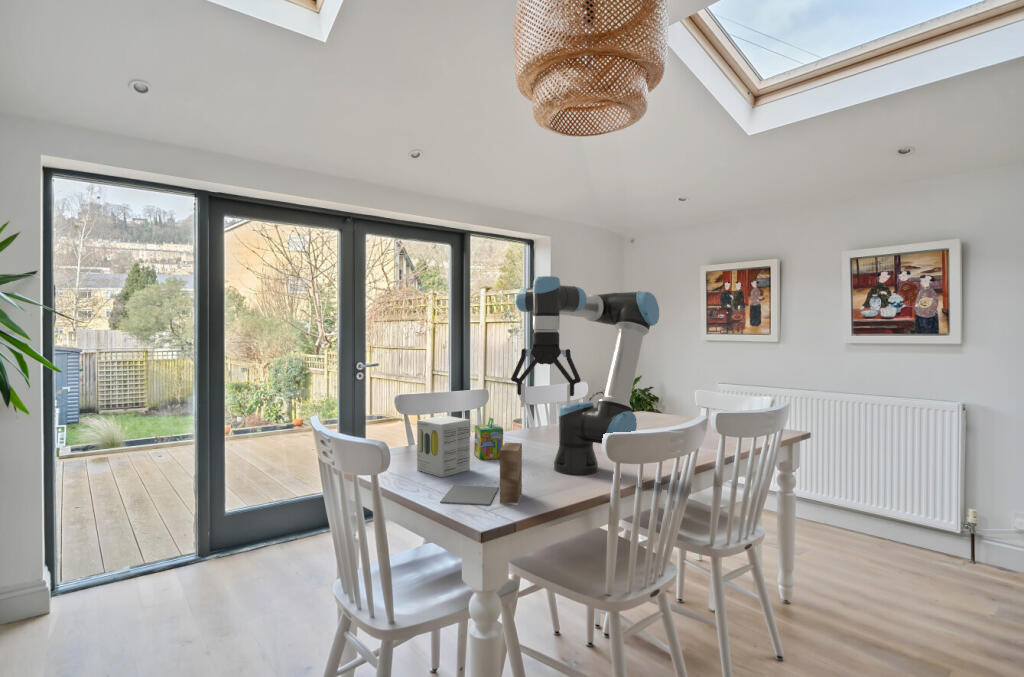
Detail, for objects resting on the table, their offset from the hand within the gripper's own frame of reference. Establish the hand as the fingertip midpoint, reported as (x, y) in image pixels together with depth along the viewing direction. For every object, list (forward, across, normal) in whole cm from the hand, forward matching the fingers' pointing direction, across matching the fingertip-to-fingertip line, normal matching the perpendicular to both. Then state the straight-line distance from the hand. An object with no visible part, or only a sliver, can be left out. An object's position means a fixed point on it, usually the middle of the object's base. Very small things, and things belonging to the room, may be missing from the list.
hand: (545, 407), depth 154 cm
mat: (+27, +22, -1) cm, 34 cm away
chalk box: (+27, +25, -48) cm, 60 cm away
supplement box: (+27, +37, -27) cm, 53 cm away
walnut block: (+27, +10, 0) cm, 28 cm away
